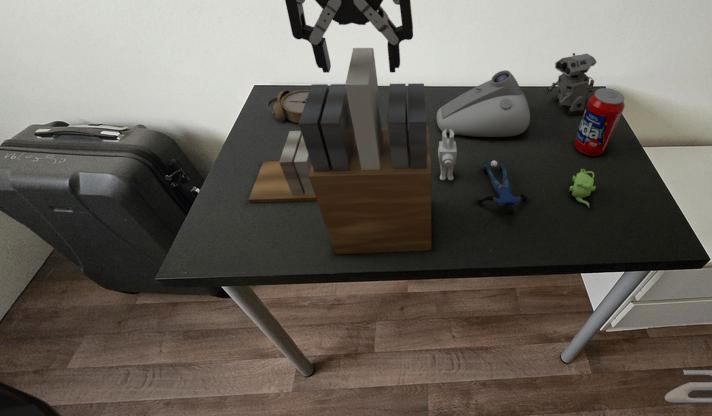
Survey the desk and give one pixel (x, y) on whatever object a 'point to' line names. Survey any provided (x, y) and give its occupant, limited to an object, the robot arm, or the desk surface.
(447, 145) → the toy robot
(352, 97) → the gray rectangular block
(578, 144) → the soda can
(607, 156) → the desk surface
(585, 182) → the green kettle
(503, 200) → the person figurine
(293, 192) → the wooden display stand
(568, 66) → the figurine
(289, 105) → the alarm clock
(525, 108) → the projector
